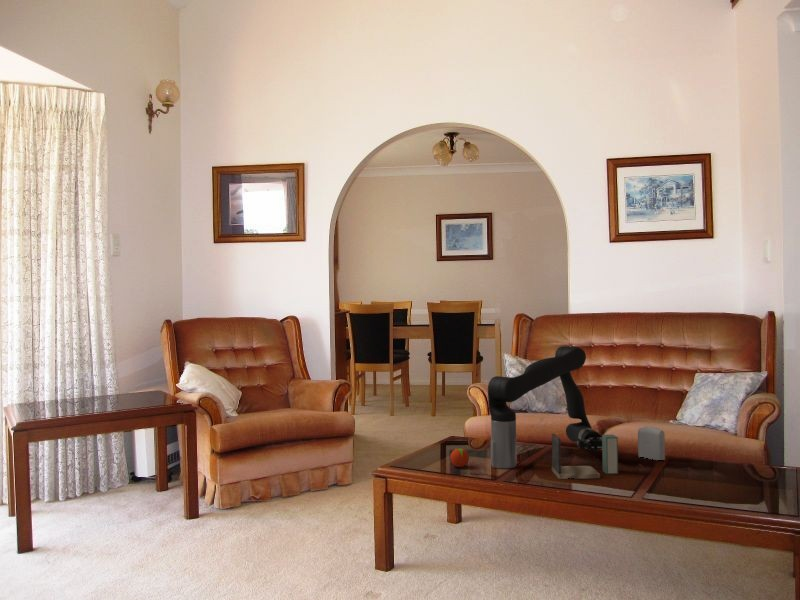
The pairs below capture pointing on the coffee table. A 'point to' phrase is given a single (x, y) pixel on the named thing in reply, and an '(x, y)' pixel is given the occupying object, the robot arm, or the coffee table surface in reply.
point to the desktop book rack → (569, 471)
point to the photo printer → (651, 443)
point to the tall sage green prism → (610, 454)
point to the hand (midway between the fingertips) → (602, 447)
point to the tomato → (459, 457)
